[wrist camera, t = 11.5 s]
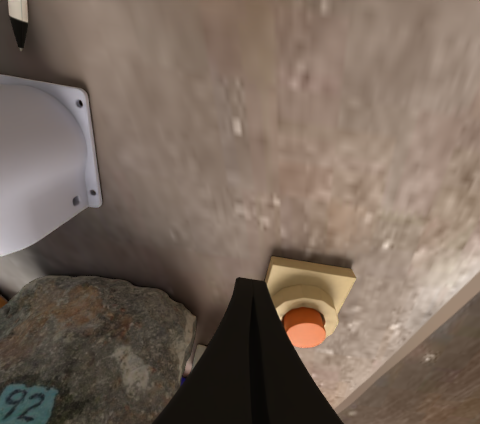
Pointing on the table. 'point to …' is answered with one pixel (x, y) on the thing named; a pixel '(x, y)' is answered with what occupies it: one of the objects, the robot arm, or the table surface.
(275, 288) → the control block
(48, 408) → the rock
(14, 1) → the pen
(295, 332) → the orange button
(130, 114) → the table surface
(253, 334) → the robot arm
